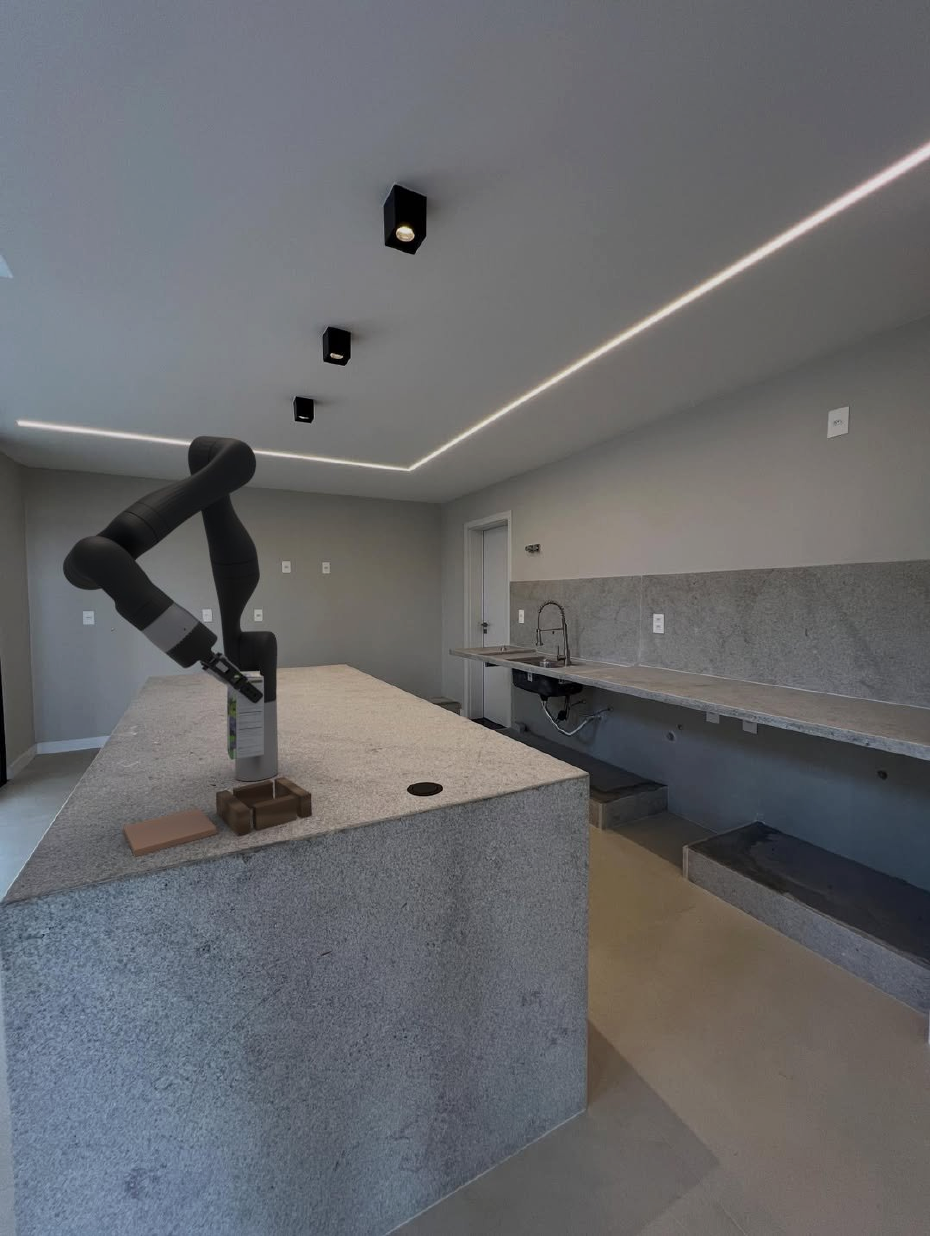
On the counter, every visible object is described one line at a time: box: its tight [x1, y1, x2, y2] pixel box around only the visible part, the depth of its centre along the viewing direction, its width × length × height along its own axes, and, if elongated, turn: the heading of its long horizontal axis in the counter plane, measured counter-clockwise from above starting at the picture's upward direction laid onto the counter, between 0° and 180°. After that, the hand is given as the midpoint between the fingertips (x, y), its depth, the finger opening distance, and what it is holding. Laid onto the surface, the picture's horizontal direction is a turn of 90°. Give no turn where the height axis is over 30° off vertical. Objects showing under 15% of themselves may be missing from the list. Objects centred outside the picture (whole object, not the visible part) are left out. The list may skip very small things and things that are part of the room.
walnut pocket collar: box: [215, 776, 313, 837], centre depth 97 cm, size 13×13×4 cm
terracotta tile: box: [122, 807, 218, 857], centre depth 89 cm, size 12×12×1 cm
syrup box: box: [226, 672, 264, 761], centre depth 94 cm, size 6×6×14 cm
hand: (254, 696), depth 95 cm, fingers closed on syrup box, 6 cm apart
